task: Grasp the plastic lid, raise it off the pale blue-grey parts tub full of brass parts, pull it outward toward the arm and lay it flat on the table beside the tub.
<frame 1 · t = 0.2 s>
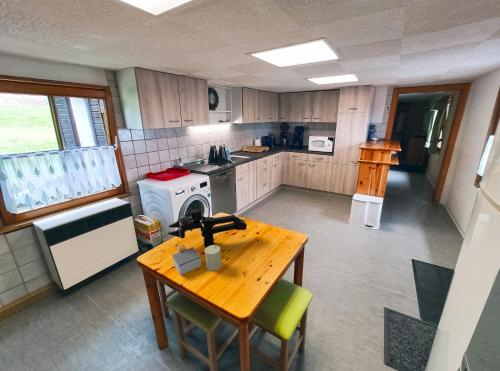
hand: (168, 230, 142), 17 cm above the table, tool horizontal, fingers open, 9 cm apart
lid: (186, 256, 132), point 6 cm above the table, touching tub
can: (214, 265, 133), on the table
tub: (187, 265, 133), on the table
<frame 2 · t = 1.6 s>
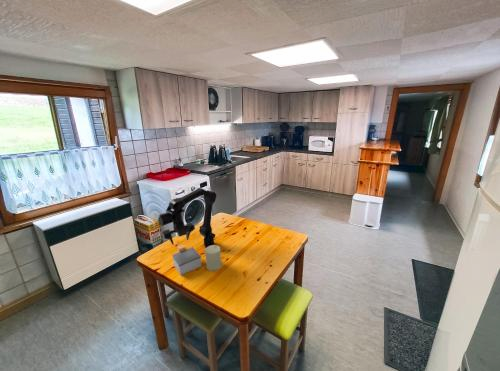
hand: (180, 242, 136), 12 cm above the table, tool pointing down, fingers open, 9 cm apart
nothing on the table moved.
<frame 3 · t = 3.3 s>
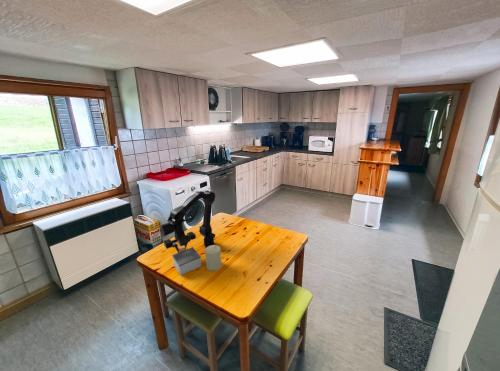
hand: (181, 251, 138), 6 cm above the table, tool pointing down, fingers closed on lid, 4 cm apart
lid: (186, 256, 132), point 6 cm above the table, touching gripper, tub
everything else where it was.
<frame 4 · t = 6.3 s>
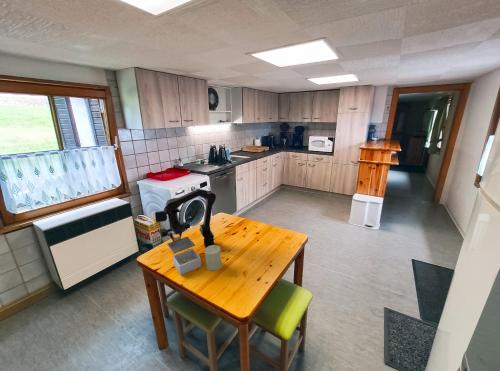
hand: (176, 240, 143), 10 cm above the table, tool pointing down, fingers closed on lid, 4 cm apart
lid: (181, 245, 137), point 10 cm above the table, touching gripper
everything else where it was.
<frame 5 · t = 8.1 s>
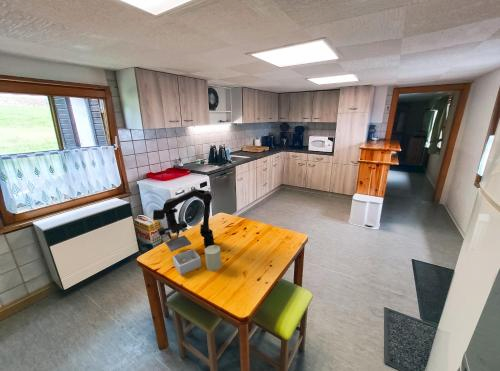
hand: (174, 239, 148), 8 cm above the table, tool pointing down, fingers closed on lid, 4 cm apart
lid: (178, 243, 142), point 8 cm above the table, touching gripper
everything else where it was.
when the fingers open (2 cm above the table, at t = 9.5 s): lid drops 3 cm, on the table.
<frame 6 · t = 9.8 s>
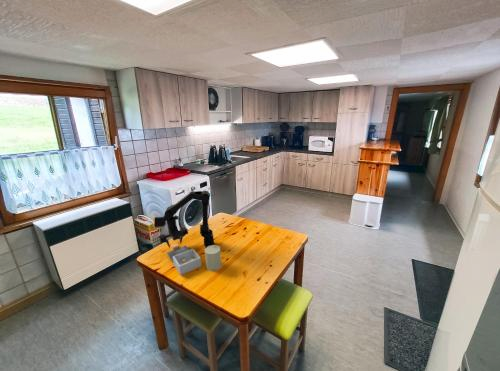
hand: (175, 245, 150), 2 cm above the table, tool pointing down, fingers open, 7 cm apart
lid: (179, 254, 144), on the table
everything else where it was.
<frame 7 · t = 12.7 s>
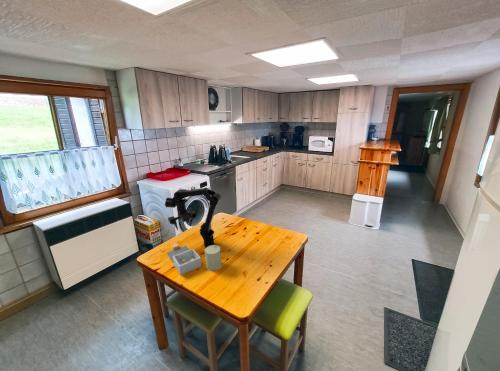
hand: (184, 227, 154), 12 cm above the table, tool pointing down, fingers open, 9 cm apart
nothing on the table moved.
at the end: lid touching table; lid inside the target area (1.2 cm from its centre), on the table; lid tilted 1° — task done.
